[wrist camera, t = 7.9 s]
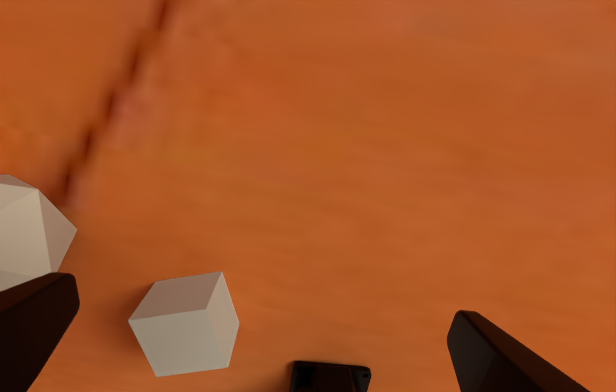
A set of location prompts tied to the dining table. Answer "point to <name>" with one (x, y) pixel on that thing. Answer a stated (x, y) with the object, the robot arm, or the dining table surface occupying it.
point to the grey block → (186, 324)
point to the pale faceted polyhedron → (29, 233)
